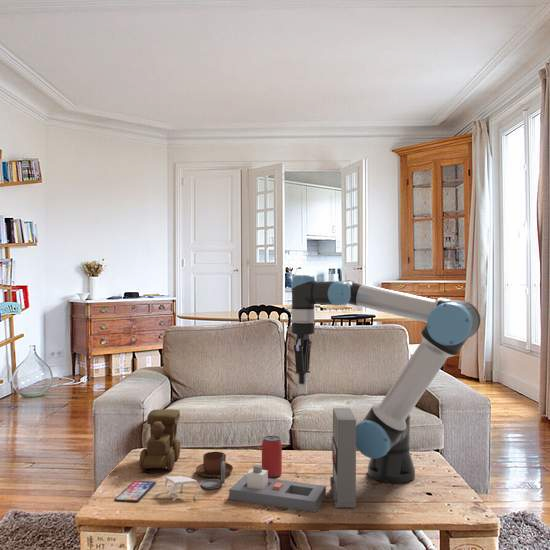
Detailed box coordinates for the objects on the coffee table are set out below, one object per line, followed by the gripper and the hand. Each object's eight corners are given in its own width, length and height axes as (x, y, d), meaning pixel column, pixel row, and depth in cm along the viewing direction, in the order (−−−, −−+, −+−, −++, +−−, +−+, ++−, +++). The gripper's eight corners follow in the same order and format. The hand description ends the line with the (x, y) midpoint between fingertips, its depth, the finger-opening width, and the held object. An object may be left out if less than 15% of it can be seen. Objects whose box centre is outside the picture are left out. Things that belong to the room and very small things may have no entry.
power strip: (325, 495, 167) (325, 483, 167) (315, 512, 156) (315, 498, 156) (244, 484, 176) (244, 472, 176) (229, 499, 164) (229, 486, 164)
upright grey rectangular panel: (329, 489, 172) (330, 407, 172) (349, 489, 172) (350, 407, 172) (334, 508, 159) (334, 420, 158) (356, 508, 159) (356, 420, 158)
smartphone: (113, 499, 163) (133, 480, 178) (113, 502, 163) (134, 483, 178) (137, 500, 162) (156, 481, 177) (137, 504, 162) (156, 484, 177)
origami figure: (159, 502, 163) (159, 485, 163) (165, 490, 171) (165, 474, 171) (200, 502, 162) (200, 485, 162) (204, 491, 171) (204, 474, 171)
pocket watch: (196, 485, 175) (196, 453, 175) (218, 479, 180) (219, 447, 180) (211, 493, 169) (211, 460, 169) (233, 486, 174) (234, 454, 174)
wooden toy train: (150, 454, 204) (151, 408, 204) (182, 454, 204) (182, 408, 204) (137, 474, 184) (137, 424, 184) (171, 474, 184) (172, 424, 184)
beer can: (282, 471, 187) (282, 435, 187) (280, 478, 181) (280, 441, 181) (262, 470, 188) (263, 434, 188) (260, 477, 182) (260, 440, 181)
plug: (267, 493, 169) (267, 465, 169) (262, 498, 165) (262, 469, 165) (252, 491, 171) (252, 463, 171) (247, 496, 167) (247, 467, 167)
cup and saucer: (197, 467, 191) (197, 449, 191) (233, 467, 192) (233, 449, 192) (194, 480, 179) (194, 461, 179) (232, 480, 180) (232, 461, 180)
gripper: (297, 319, 193) (297, 388, 193) (286, 323, 181) (285, 396, 181) (319, 320, 191) (318, 389, 191) (308, 324, 178) (308, 398, 179)
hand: (302, 393), depth 186 cm, fingers closed
